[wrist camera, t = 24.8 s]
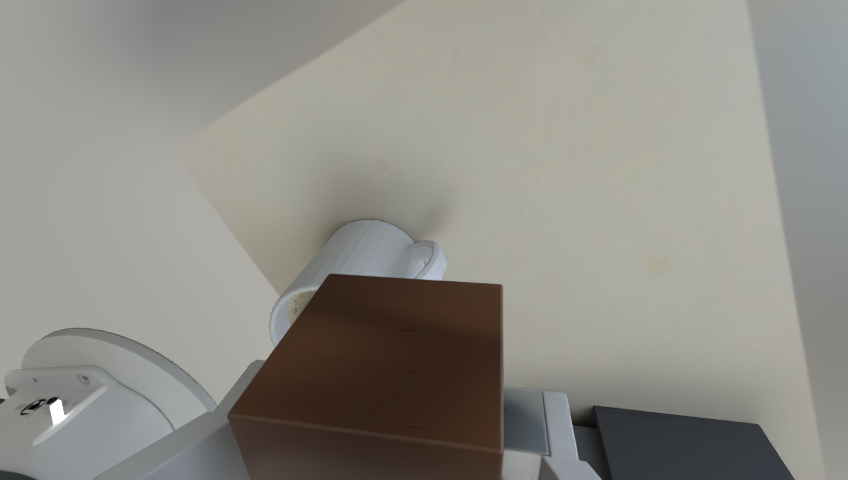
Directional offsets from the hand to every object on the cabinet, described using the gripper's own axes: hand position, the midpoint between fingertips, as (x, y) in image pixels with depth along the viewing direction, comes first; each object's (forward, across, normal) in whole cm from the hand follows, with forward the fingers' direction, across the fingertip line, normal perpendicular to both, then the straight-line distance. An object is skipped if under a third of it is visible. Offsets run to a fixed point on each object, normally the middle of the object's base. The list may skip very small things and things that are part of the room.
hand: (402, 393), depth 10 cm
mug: (+22, +7, +10) cm, 25 cm away
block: (+2, 0, 0) cm, 2 cm away
